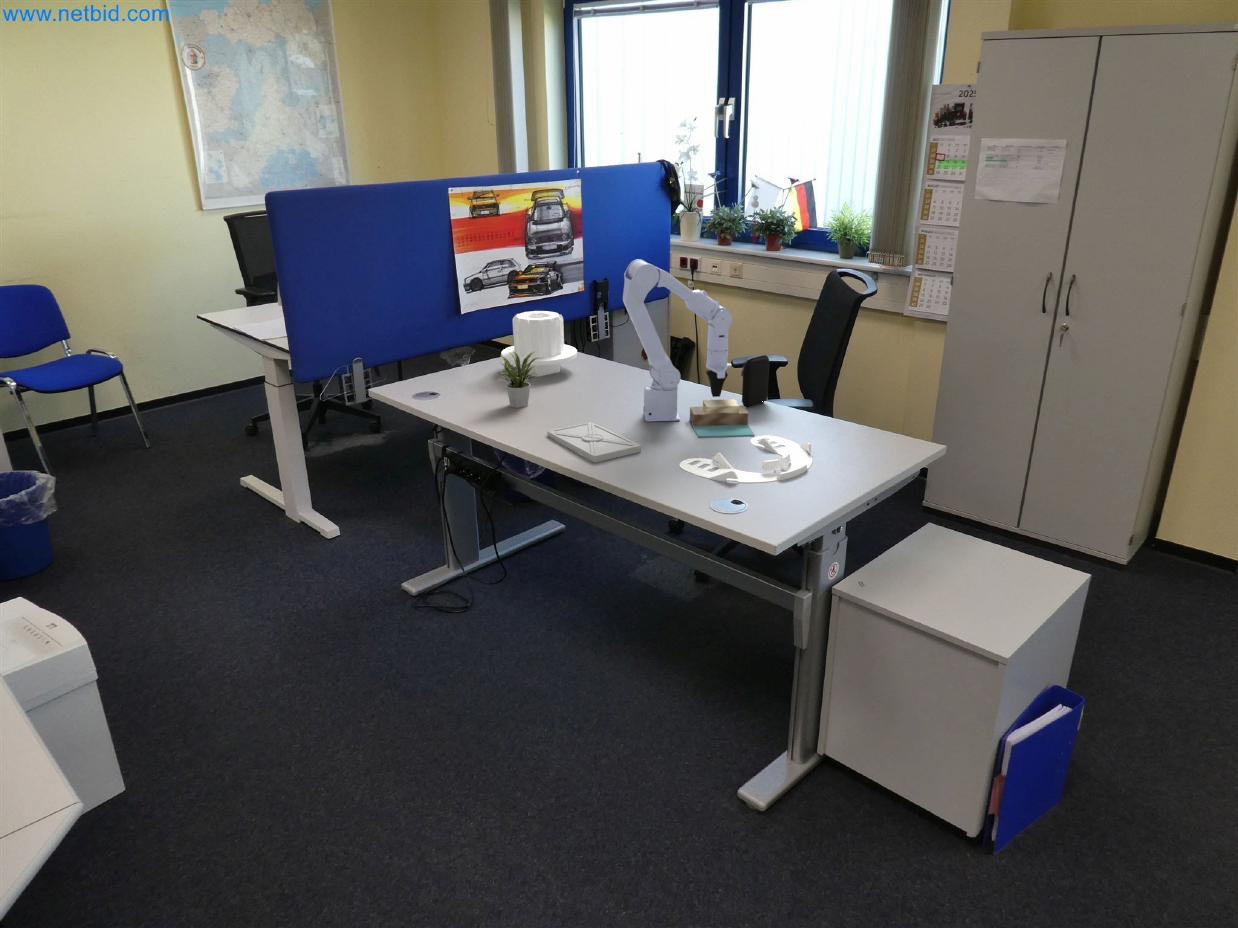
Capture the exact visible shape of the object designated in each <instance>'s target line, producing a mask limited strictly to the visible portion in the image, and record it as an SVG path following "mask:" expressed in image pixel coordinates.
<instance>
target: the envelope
mask: <svg viewBox="0 0 1238 928" xmlns="http://www.w3.org/2000/svg"><path fill="white" fill-rule="evenodd" d="M546 434H547V435H546V436H547V437H549V438H551V439H553V441H555V442H558V443H559V444H561V445H563V446H565V447H566V448H568V449H570V451H571V450H572V451H573V452H575V451H576V452H577V453H576V452H575V453H576V454H578V453H579V454H578V455H580V454H581V455H580V456H582V457H583V456H584V457H583V458H585V457H586V458H585V459H587V460H589V461H590V462H592V463H600V462H603V461H604V462H605V461H608V460H612V459H616V457H617V458H621V457H624V456H628V455H632V454H636V453H641V452H642V445H641V444H640V443H637V442H636V441H633V440H630V439H629V438H627V437H624V436H622V435H621V434H617V433H616V432H613V431H612V430H610V429H608V428H605V427H603V426H601V425H599V424H596V423H594V422H592V421H588V422H584V423H579V424H574V425H570V426H564V427H561V428H555V429H551V430H547V431H546Z"/></svg>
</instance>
